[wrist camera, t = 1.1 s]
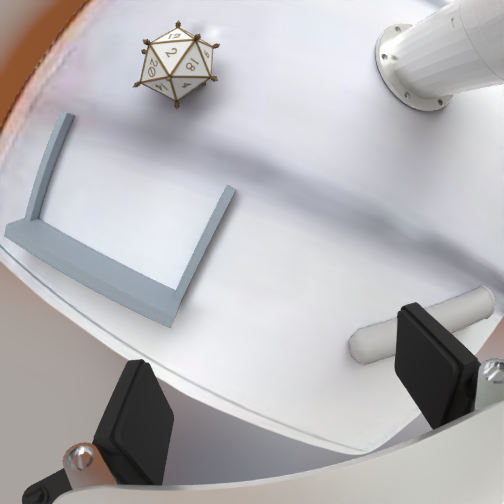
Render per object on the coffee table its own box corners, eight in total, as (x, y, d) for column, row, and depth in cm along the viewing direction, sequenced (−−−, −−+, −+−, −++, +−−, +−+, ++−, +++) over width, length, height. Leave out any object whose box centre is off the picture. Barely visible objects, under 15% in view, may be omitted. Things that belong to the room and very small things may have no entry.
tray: (69, 112, 30) (43, 106, 24) (235, 188, 34) (236, 193, 28) (30, 225, 33) (4, 236, 27) (178, 304, 37) (170, 328, 31)
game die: (193, 95, 34) (182, 136, 28) (134, 64, 29) (106, 98, 23) (237, 40, 28) (238, 65, 22) (174, 4, 24) (153, 17, 18)
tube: (354, 376, 38) (488, 323, 37) (358, 354, 35) (499, 300, 34) (343, 347, 42) (472, 302, 42) (344, 323, 39) (481, 279, 39)
